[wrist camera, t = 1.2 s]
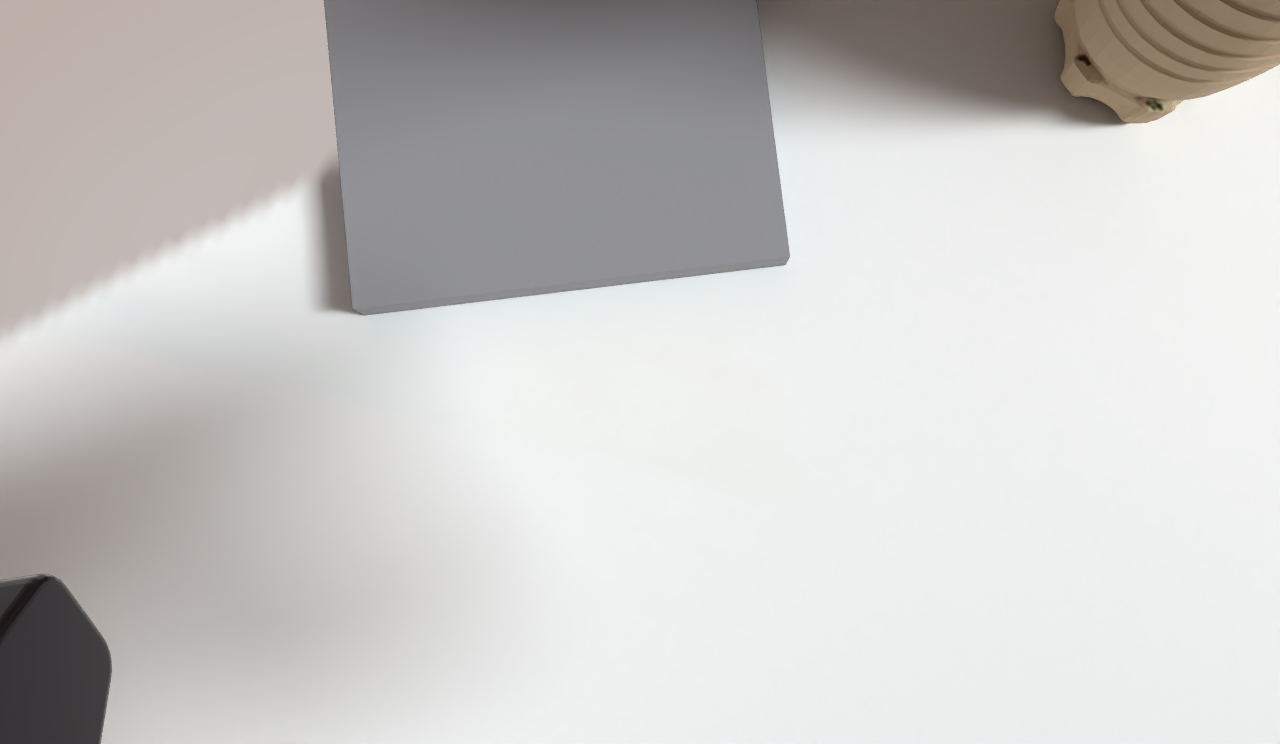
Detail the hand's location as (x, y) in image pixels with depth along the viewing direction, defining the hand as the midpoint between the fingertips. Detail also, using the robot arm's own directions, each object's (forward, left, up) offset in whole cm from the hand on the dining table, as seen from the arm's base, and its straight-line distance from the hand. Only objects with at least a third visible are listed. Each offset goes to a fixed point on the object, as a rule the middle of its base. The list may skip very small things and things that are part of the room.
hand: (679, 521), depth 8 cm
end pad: (+7, +1, -13) cm, 15 cm away
